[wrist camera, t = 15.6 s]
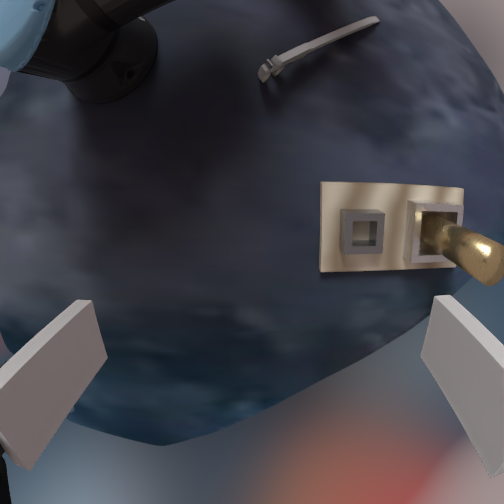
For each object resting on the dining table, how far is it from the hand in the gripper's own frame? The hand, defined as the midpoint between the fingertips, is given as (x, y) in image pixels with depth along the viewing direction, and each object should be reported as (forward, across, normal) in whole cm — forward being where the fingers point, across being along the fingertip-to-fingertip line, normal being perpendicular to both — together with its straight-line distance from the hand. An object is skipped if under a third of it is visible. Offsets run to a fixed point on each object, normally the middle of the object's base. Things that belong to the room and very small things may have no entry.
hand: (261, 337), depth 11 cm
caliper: (+32, +8, +22) cm, 40 cm away
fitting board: (+32, +18, -3) cm, 37 cm away
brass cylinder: (+30, +23, -3) cm, 38 cm away
